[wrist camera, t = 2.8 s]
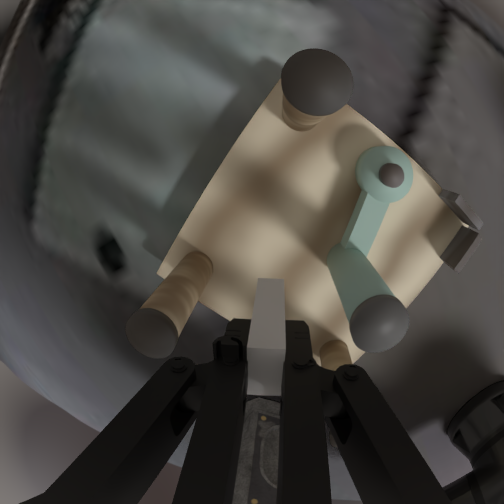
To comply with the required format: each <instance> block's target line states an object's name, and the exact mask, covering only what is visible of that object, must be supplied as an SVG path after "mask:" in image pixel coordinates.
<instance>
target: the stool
mask: <svg viewBox="0 0 504 504" xmlns="http://www.w3.org/2000/svg"><path fill="white" fill-rule="evenodd" d="M353 87H354V83H353V77H352V74H351V71H350V69H349V68H348V66H347V65H346V63H345V62H344V61H343V60H342V59H341V58H339V57H338V56H337V55H335V54H333V53H331V52H329V51H326V50H322V49H305V50H302V51H299V52H297V53H295V54H294V55H292V56H291V57H290V58H289V59H288V60H287V62H286V63H285V65H284V67H283V70H282V74H281V78H280V80H279V81H278V82H277V84H276V85H275V86H274V88H273V89H272V91H271V92H270V93H269V95H268V96H267V97H266V99H265V100H264V102H263V103H262V104H261V106H260V107H259V109H258V110H257V111H256V113H255V114H254V116H253V117H252V119H251V120H250V122H249V123H248V124H247V126H246V127H245V129H244V130H243V132H242V133H241V135H240V136H239V138H238V139H237V141H236V142H235V144H234V145H233V147H232V148H231V150H230V151H229V153H228V154H227V156H226V157H225V159H224V160H223V162H222V163H221V165H220V167H219V168H218V170H217V171H216V173H215V174H214V176H213V178H212V179H211V181H210V182H209V184H208V185H207V187H206V189H205V190H204V192H203V194H202V195H201V197H200V198H199V200H198V202H197V203H196V205H195V207H194V208H193V210H192V212H191V213H190V215H189V217H188V218H187V220H186V222H185V224H184V225H183V227H182V229H181V230H180V232H179V234H178V236H177V237H176V239H175V241H174V243H173V244H172V246H171V248H170V250H169V251H168V253H167V255H166V257H165V259H164V260H163V262H162V264H161V266H160V268H159V270H158V271H157V273H156V274H158V275H159V276H161V277H162V278H164V281H163V282H162V283H161V284H160V285H159V286H158V288H157V289H156V290H155V291H154V292H153V293H152V295H151V296H150V297H149V298H148V299H147V301H146V302H145V303H144V304H143V305H142V306H141V308H140V309H139V310H137V311H136V312H134V314H133V315H132V316H131V317H130V318H129V319H128V321H127V323H126V327H125V331H126V336H127V338H128V340H129V342H130V344H131V345H132V346H133V347H134V348H135V349H136V350H137V351H138V352H140V353H141V354H143V355H145V356H147V357H150V358H155V359H161V358H165V357H167V356H169V355H170V354H171V353H172V352H173V350H174V348H175V346H176V344H177V342H178V337H179V335H180V333H181V331H182V329H183V328H184V326H185V324H186V322H187V320H188V318H189V316H190V314H191V313H192V311H193V309H194V307H195V305H196V303H197V301H199V302H200V303H202V304H203V305H205V306H207V307H208V308H210V309H211V310H213V311H215V312H216V313H218V314H219V315H221V316H223V317H224V318H226V319H227V320H229V321H231V320H232V319H233V318H239V319H252V313H253V307H254V301H255V294H256V288H257V282H258V278H270V279H284V295H285V320H304V321H305V322H306V323H307V325H308V326H309V331H310V339H311V345H312V352H313V358H314V359H315V361H316V363H317V364H318V365H319V366H321V367H323V368H326V369H329V370H334V371H336V369H337V368H338V367H339V366H342V365H344V364H353V363H354V362H355V361H357V360H358V359H359V358H360V357H361V356H362V355H363V354H364V353H365V351H362V350H361V349H359V348H358V347H357V346H356V345H355V344H354V342H353V339H352V336H351V333H350V329H349V322H348V319H347V317H346V314H345V311H344V308H343V306H342V303H341V300H340V297H339V295H338V292H337V289H336V287H335V284H334V281H333V279H332V276H331V274H330V271H329V269H328V266H327V255H328V253H329V251H330V250H331V248H332V247H333V246H335V245H336V244H338V243H340V242H341V240H342V237H343V235H344V233H345V230H346V228H347V226H348V223H349V221H350V218H351V216H352V213H353V211H354V208H355V206H356V203H357V201H358V198H359V196H360V193H361V191H362V189H361V188H360V187H359V185H358V183H357V180H356V176H355V167H356V163H357V160H358V158H359V157H360V155H361V154H362V153H363V152H364V151H365V150H367V149H369V148H371V147H375V146H392V147H395V148H397V149H399V150H401V151H402V152H403V153H404V154H405V155H406V156H407V157H408V159H409V160H410V162H411V165H412V168H413V182H412V186H411V188H410V190H409V192H408V193H407V194H406V195H405V196H404V197H403V198H402V199H400V200H399V201H396V202H392V203H390V204H389V206H388V209H387V211H386V213H385V216H384V218H383V221H382V223H381V225H380V228H379V230H378V232H377V235H376V237H375V239H374V242H373V244H372V246H371V248H370V250H369V253H368V255H367V257H366V258H367V259H368V260H369V261H370V263H371V264H372V265H373V267H374V268H375V269H376V271H377V272H378V273H379V275H380V276H381V277H382V279H383V280H384V282H385V283H386V284H387V286H388V287H389V288H390V290H391V291H392V293H393V294H394V295H395V297H396V298H398V299H399V300H400V301H401V302H402V304H403V305H404V307H405V308H407V307H408V306H409V305H410V303H411V302H412V301H413V300H414V299H415V298H416V296H417V295H418V294H419V293H420V292H421V290H422V289H423V288H424V287H425V286H426V284H427V283H428V282H429V281H430V279H431V278H432V277H433V275H434V274H435V273H436V272H437V270H438V269H439V268H440V266H441V265H442V264H443V262H444V263H446V264H447V265H448V266H450V267H451V268H452V269H453V270H455V271H456V272H457V273H458V274H459V273H460V271H461V270H462V268H463V267H464V266H465V264H466V263H467V262H468V260H469V259H470V257H471V256H472V254H473V253H474V252H475V250H476V249H477V247H478V246H479V244H480V243H481V241H482V240H483V238H482V237H481V236H480V234H479V233H477V232H475V231H473V230H471V229H469V228H468V227H469V226H471V227H473V228H475V229H477V230H480V228H481V227H482V225H483V222H482V221H481V220H480V218H479V217H478V216H477V215H476V213H475V212H474V211H473V210H472V208H471V207H470V206H469V205H468V204H467V202H466V201H465V200H464V199H463V198H462V196H461V195H460V194H457V193H454V192H450V191H447V190H444V189H442V188H441V187H440V186H439V185H438V184H437V183H436V182H435V181H434V180H433V179H432V178H431V177H430V176H429V175H428V174H427V173H426V172H425V171H424V170H423V169H422V168H421V167H420V166H419V165H418V164H417V163H416V162H415V161H414V160H413V159H412V158H411V157H410V156H409V155H408V154H406V153H405V152H404V151H403V150H402V149H401V148H400V147H399V146H398V145H397V144H395V143H394V142H393V141H392V140H391V139H390V138H388V137H387V136H386V135H385V134H384V133H383V132H381V131H380V130H379V129H378V128H377V127H375V126H374V125H373V124H372V123H370V122H369V121H368V120H367V119H365V118H364V117H363V116H362V115H360V114H359V113H358V112H356V111H355V110H354V109H352V108H351V107H350V106H348V105H347V104H346V103H347V102H348V101H349V99H350V98H351V95H352V93H353ZM379 179H380V181H381V182H382V184H384V185H385V186H388V187H391V188H397V187H399V186H400V185H401V184H402V183H403V181H404V171H403V169H402V168H401V167H400V166H399V165H398V164H394V163H386V164H384V165H382V166H381V168H380V170H379ZM329 438H330V444H331V445H332V446H333V447H336V448H338V447H337V445H336V442H335V440H334V438H333V436H332V434H331V431H330V432H329Z"/></svg>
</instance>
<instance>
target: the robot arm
mask: <svg viewBox="0 0 504 504" xmlns="http://www.w3.org/2000/svg"><path fill="white" fill-rule="evenodd" d="M213 354H214V360H213V361H212V362H209V363H206V364H199V365H194V363H193V361H192V360H190V359H188V358H185V357H174V358H172V359H169V360H168V361H166V362H165V363H164V364H163V365H162V366H161V367H160V369H159V370H158V371H157V372H156V373H155V374H154V375H153V376H152V377H151V378H150V379H149V381H148V382H147V383H146V384H145V385H144V386H143V387H142V388H141V389H140V390H139V391H138V393H137V394H136V395H135V396H134V397H133V398H132V399H131V400H130V401H129V402H128V403H127V405H126V406H125V407H124V408H123V409H122V410H121V411H120V412H119V413H118V414H117V415H116V416H115V418H114V419H113V420H112V421H111V422H110V423H109V424H108V425H107V426H106V427H105V428H104V429H103V431H102V432H101V433H100V434H99V435H98V436H97V437H96V438H95V439H94V440H93V441H92V442H91V444H90V445H89V446H88V447H87V448H86V449H85V450H84V451H83V452H82V453H81V454H80V455H79V456H78V457H77V458H76V459H75V461H74V462H73V463H72V464H71V465H70V466H69V467H68V468H67V469H66V470H65V471H64V472H63V473H62V474H61V476H59V478H58V479H57V480H56V481H55V482H54V483H53V484H52V485H51V486H50V487H49V488H48V489H47V490H46V491H45V492H44V493H43V494H40V495H38V496H36V497H34V498H31V499H29V500H27V501H24V502H22V503H19V504H137V503H138V502H139V501H140V500H141V498H142V497H143V495H144V494H145V493H146V491H147V490H148V488H149V487H150V486H151V484H152V483H153V481H154V480H155V478H156V477H157V475H158V474H159V473H160V471H161V470H162V469H163V467H164V466H165V464H166V463H167V461H168V460H169V458H170V457H171V455H172V454H173V453H174V451H175V450H176V448H177V447H178V445H179V444H180V442H181V441H182V439H183V438H184V436H185V435H186V433H187V432H188V430H189V429H190V427H191V426H192V424H193V423H194V421H195V420H196V422H195V426H194V429H193V433H192V436H191V439H190V443H189V446H188V450H187V453H186V457H185V460H184V464H183V467H182V471H181V474H180V478H179V481H178V485H177V488H176V492H175V495H174V498H173V502H172V504H232V501H233V495H234V488H235V481H236V474H237V467H238V461H239V453H240V446H241V439H242V432H243V425H244V418H245V410H246V395H264V396H281V402H280V410H279V416H280V427H279V455H278V478H277V497H276V504H332V503H331V488H330V475H329V464H328V453H327V443H326V433H325V424H324V417H325V420H326V422H327V425H328V427H329V429H330V431H331V434H332V436H333V438H334V440H335V442H336V445H337V447H338V449H339V451H340V453H341V456H342V458H343V460H344V462H345V465H346V467H347V469H348V471H349V473H350V476H351V478H352V480H353V482H354V485H355V487H356V489H357V491H358V493H359V496H360V498H361V500H362V502H363V504H504V381H501V382H498V383H495V384H493V385H491V386H490V387H488V388H486V389H485V390H483V391H482V392H480V393H479V394H477V395H476V396H475V397H474V398H472V399H471V400H470V401H469V402H468V403H467V404H466V405H465V406H464V407H463V408H462V409H461V410H460V411H459V412H458V413H457V414H456V416H455V417H454V418H453V420H452V421H451V423H450V425H449V427H448V431H447V432H448V436H449V438H450V441H451V443H452V444H453V445H454V446H455V447H456V448H457V449H458V450H459V451H460V452H461V453H462V454H463V455H465V456H466V457H467V458H468V459H469V461H470V463H471V465H472V468H473V471H471V472H469V473H468V474H466V475H464V476H463V477H461V478H459V479H457V480H456V481H454V482H452V483H450V484H448V485H446V486H444V487H443V488H442V487H441V485H440V483H439V482H438V480H437V479H436V477H435V476H434V474H433V472H432V471H431V469H430V468H429V466H428V465H427V463H426V461H425V460H424V458H423V457H422V455H421V454H420V452H419V451H418V449H417V447H416V446H415V444H414V443H413V441H412V440H411V438H410V437H409V435H408V434H407V432H406V431H405V429H404V428H403V426H402V425H401V423H400V422H399V420H398V419H397V417H396V416H395V414H394V413H393V411H392V410H391V408H390V407H389V405H388V404H387V402H386V401H385V399H384V398H383V396H382V395H381V393H380V392H379V390H378V389H377V387H376V386H375V384H374V383H373V381H372V380H371V379H370V377H369V376H368V374H367V373H366V371H365V370H364V369H363V368H361V367H359V366H357V365H353V364H344V365H342V366H339V367H338V368H337V369H336V371H334V370H329V369H326V368H323V367H321V366H319V365H318V364H317V363H316V361H315V359H314V358H313V352H312V345H311V339H310V331H309V326H308V325H307V323H306V322H305V321H304V320H285V295H284V279H270V278H258V282H257V288H256V294H255V301H254V307H253V313H252V319H239V318H233V319H232V320H231V321H230V322H229V323H228V325H227V328H226V332H225V336H222V337H219V338H217V339H216V340H215V341H214V342H213ZM196 418H197V419H196Z"/></svg>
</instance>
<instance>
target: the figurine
mask: <svg viewBox="0 0 504 504" xmlns="http://www.w3.org/2000/svg"><path fill="white" fill-rule="evenodd" d="M279 410H280V403H278V402H275V401H271V400H266V399H263V398H261V397H258V398H255V399H253V400H251V401H248V402H246V410H245V418H244V425H243V432H242V439H241V446H240V453H239V461H238V467H237V474H236V481H235V488H234V495H233V501H232V504H276V497H277V478H278V455H279V427H280V416H279Z"/></svg>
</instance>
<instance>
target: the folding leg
mask: <svg viewBox="0 0 504 504" xmlns="http://www.w3.org/2000/svg"><path fill="white" fill-rule="evenodd" d="M386 163H394V164H398V165H399V166H400V167H401V168H402V169H403V171H404V181H403V183H402V184H401V185H400V186H399V187H397V188H391V187H388V186H385V185H384V184H382V182H381V181H380V179H379V170H380V168H381V166H382V165H384V164H386ZM355 176H356V180H357V183H358V185H359V187H360V188H361V189H362V191H361V193H360V196H359V198H358V201H357V203H356V206H355V208H354V211H353V213H352V216H351V218H350V221H349V223H348V226H347V228H346V230H345V233H344V235H343V237H342V240H341V242H340V243H338V244H336V245H335V246H333V247H332V248H331V250H330V251H329V253H328V255H327V266H328V269H329V271H330V274H331V276H332V279H333V281H334V284H335V287H336V289H337V292H338V295H339V297H340V300H341V303H342V306H343V308H344V311H345V314H346V317H347V319H348V322H349V329H350V333H351V336H352V339H353V342H354V344H355V345H356V346H357V347H358V348H359V349H361V350H362V351H365V352H369V353H378V352H383V351H386V350H388V349H390V348H392V347H393V346H395V345H396V344H398V343H399V342H400V341H401V339H402V338H403V337H404V336H405V334H406V332H407V330H408V327H409V314H408V311H407V309H406V308H405V307H404V305H403V304H402V302H401V301H400V300H399V299H398V298H396V297H395V295H394V294H393V293H392V291H391V290H390V288H389V287H388V286H387V284H386V283H385V282H384V280H383V279H382V277H381V276H380V275H379V273H378V272H377V271H376V269H375V268H374V267H373V265H372V264H371V263H370V261H369V260H368V259H367V258H366V257H367V255H368V253H369V250H370V248H371V246H372V244H373V242H374V239H375V237H376V235H377V232H378V230H379V228H380V225H381V223H382V221H383V218H384V216H385V213H386V211H387V209H388V206H389V204H390V203H392V202H396V201H399V200H400V199H402V198H403V197H404V196H405V195H406V194H407V193H408V192H409V190H410V188H411V186H412V182H413V168H412V165H411V162H410V160H409V159H408V157H407V156H406V155H405V154H404V153H403V152H402V151H401V150H399V149H397V148H395V147H392V146H375V147H371V148H369V149H367V150H365V151H364V152H363V153H362V154H361V155H360V157H359V158H358V160H357V163H356V167H355Z"/></svg>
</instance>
